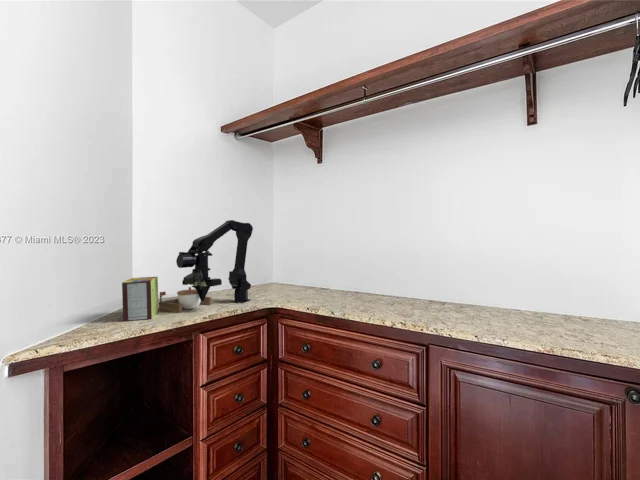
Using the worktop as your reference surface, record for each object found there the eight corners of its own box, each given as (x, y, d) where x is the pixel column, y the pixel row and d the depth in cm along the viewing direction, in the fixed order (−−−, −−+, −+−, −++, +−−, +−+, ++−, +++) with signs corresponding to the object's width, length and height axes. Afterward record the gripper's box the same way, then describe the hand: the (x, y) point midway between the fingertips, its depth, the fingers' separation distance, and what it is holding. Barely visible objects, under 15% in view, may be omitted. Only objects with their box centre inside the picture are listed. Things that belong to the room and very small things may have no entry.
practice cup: (191, 302, 163) (191, 286, 163) (211, 304, 157) (211, 287, 157) (158, 309, 147) (158, 292, 146) (179, 312, 141) (178, 294, 140)
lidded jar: (172, 310, 146) (172, 289, 146) (186, 305, 156) (186, 285, 156) (194, 310, 144) (193, 288, 144) (207, 305, 154) (206, 285, 154)
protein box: (158, 311, 144) (158, 276, 144) (152, 319, 129) (151, 280, 129) (132, 313, 141) (131, 277, 141) (122, 321, 126) (121, 282, 126)
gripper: (171, 267, 144) (172, 302, 144) (203, 268, 135) (203, 305, 135) (192, 265, 154) (192, 298, 154) (222, 266, 145) (222, 301, 145)
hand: (202, 300), depth 147 cm, fingers closed
